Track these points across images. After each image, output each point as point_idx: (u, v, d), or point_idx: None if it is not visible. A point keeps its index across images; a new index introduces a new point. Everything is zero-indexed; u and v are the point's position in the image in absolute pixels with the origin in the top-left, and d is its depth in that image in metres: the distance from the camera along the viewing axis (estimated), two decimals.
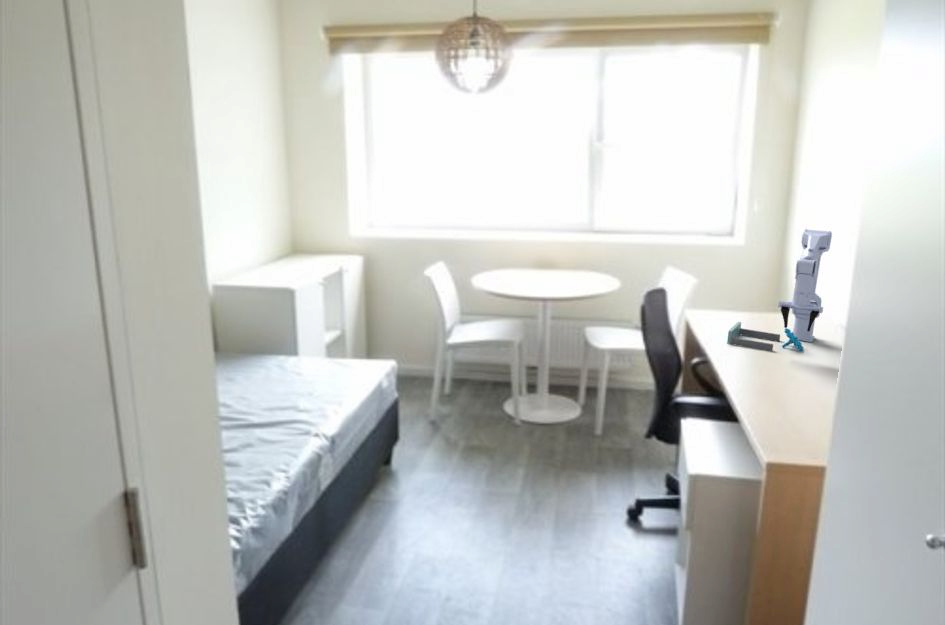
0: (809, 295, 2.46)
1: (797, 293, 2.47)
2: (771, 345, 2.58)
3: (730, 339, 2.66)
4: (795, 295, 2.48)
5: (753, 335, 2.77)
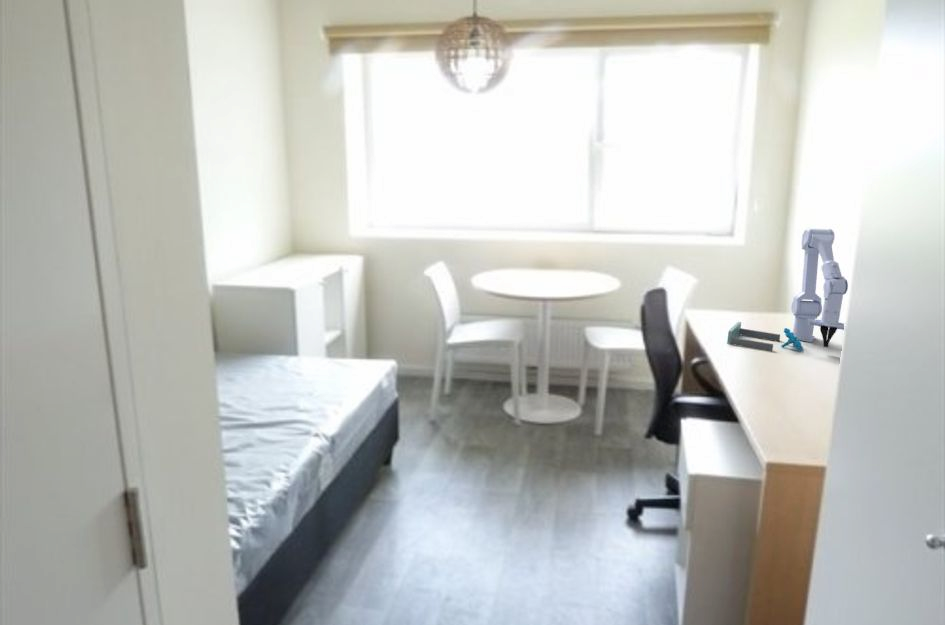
0: (838, 313, 2.51)
1: (826, 311, 2.52)
2: (771, 345, 2.58)
3: (730, 339, 2.66)
4: (824, 313, 2.53)
5: (753, 335, 2.77)
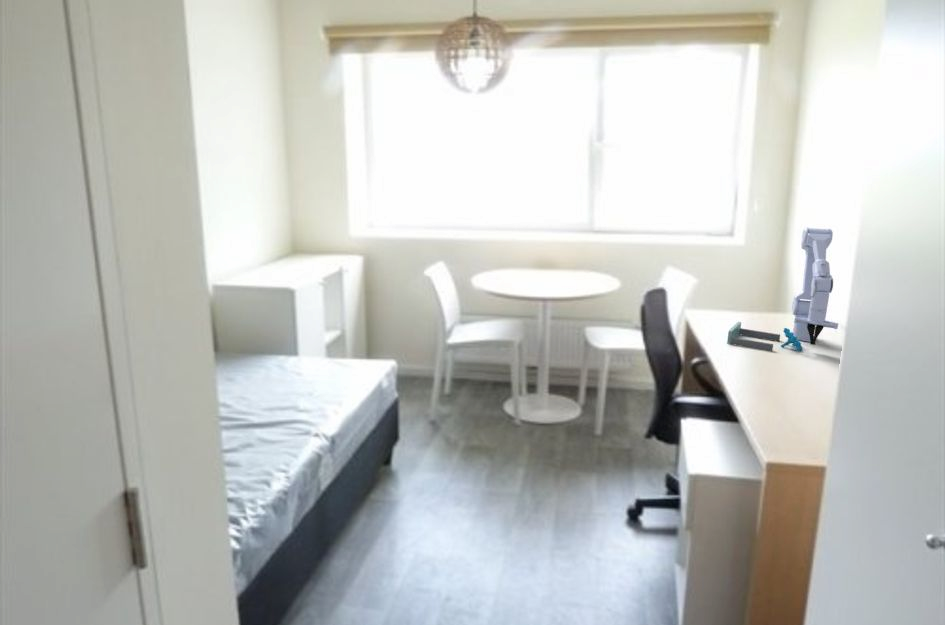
0: (825, 311, 2.54)
1: (813, 310, 2.54)
2: (771, 345, 2.58)
3: (730, 339, 2.66)
4: (811, 311, 2.55)
5: (753, 335, 2.77)
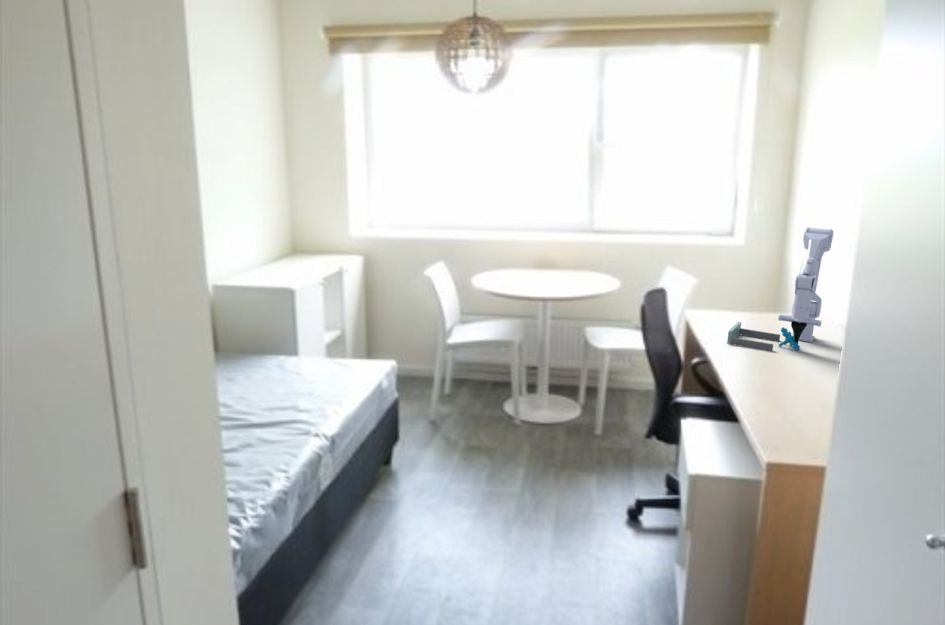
0: (808, 309, 2.56)
1: (796, 307, 2.57)
2: (771, 345, 2.58)
3: (730, 339, 2.66)
4: (794, 309, 2.58)
5: (753, 335, 2.77)
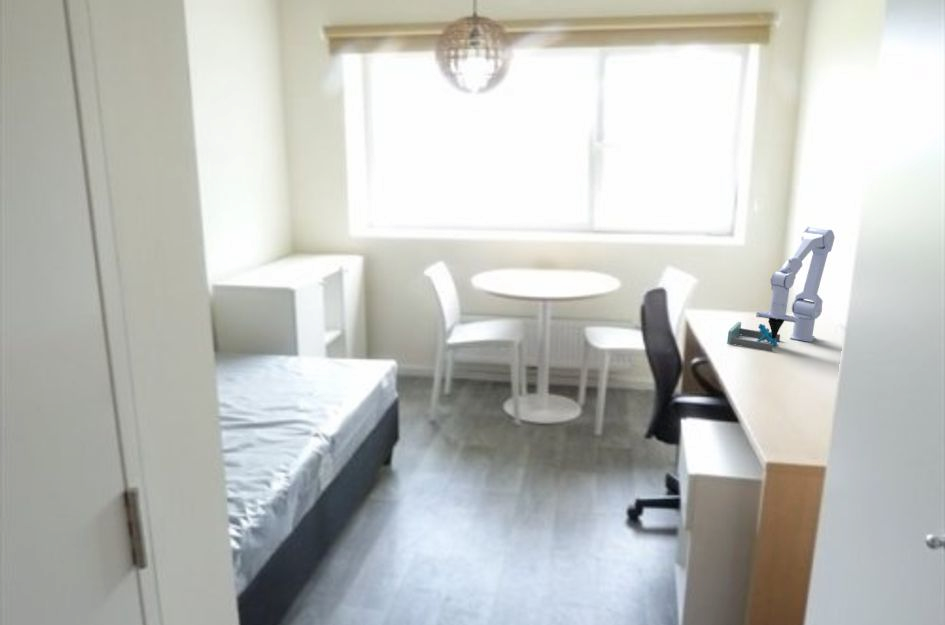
0: (785, 306, 2.60)
1: (773, 304, 2.61)
2: (771, 345, 2.58)
3: (730, 339, 2.66)
4: (772, 306, 2.62)
5: (753, 335, 2.77)
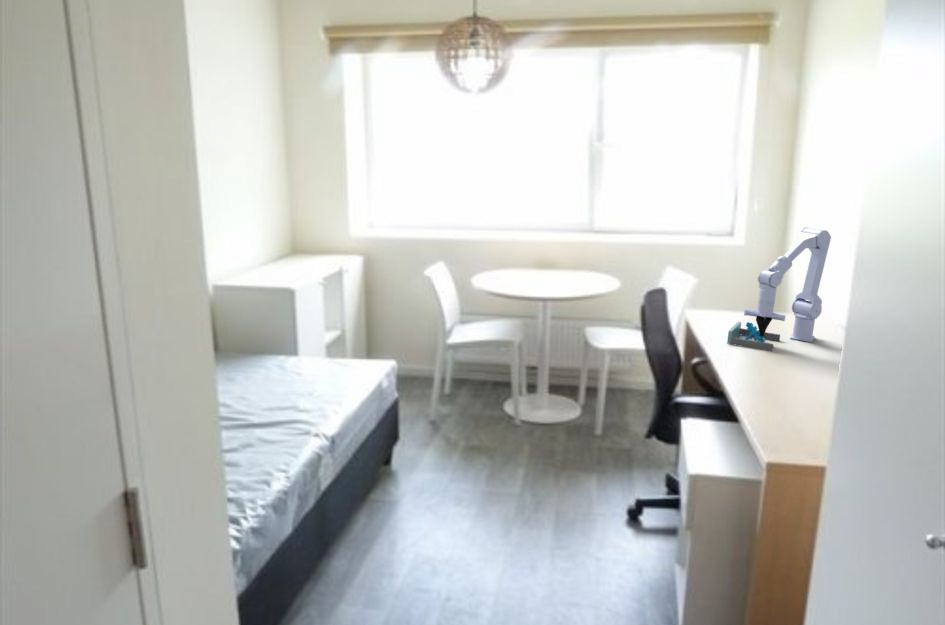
0: (772, 304, 2.63)
1: (761, 302, 2.63)
2: (771, 345, 2.58)
3: (730, 339, 2.66)
4: (759, 304, 2.64)
5: None
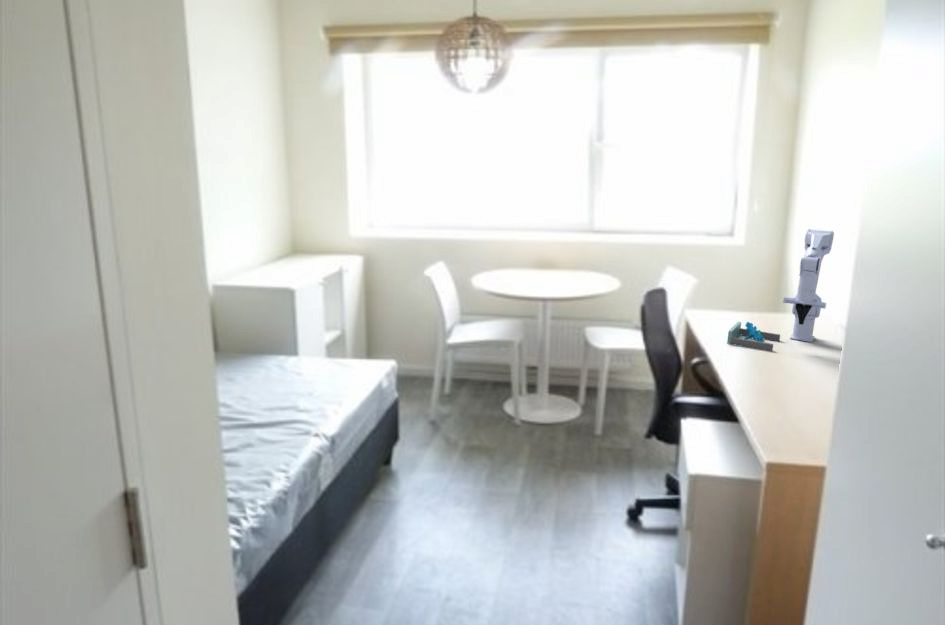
0: (813, 291, 2.57)
1: (801, 289, 2.58)
2: (771, 345, 2.58)
3: (730, 339, 2.66)
4: (799, 291, 2.59)
5: None
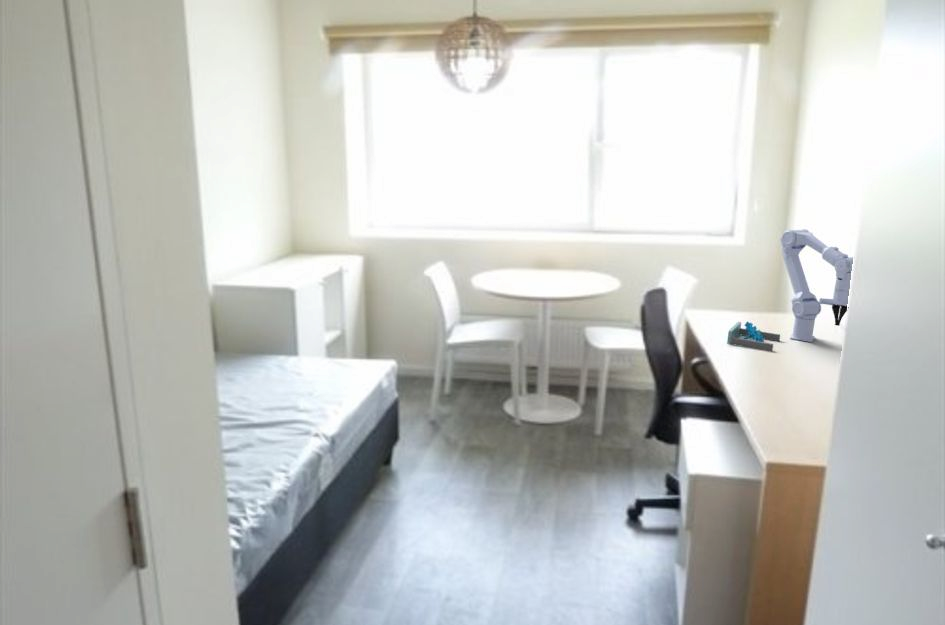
0: None
1: (838, 290, 2.58)
2: (771, 345, 2.58)
3: (730, 339, 2.66)
4: (836, 292, 2.59)
5: None
